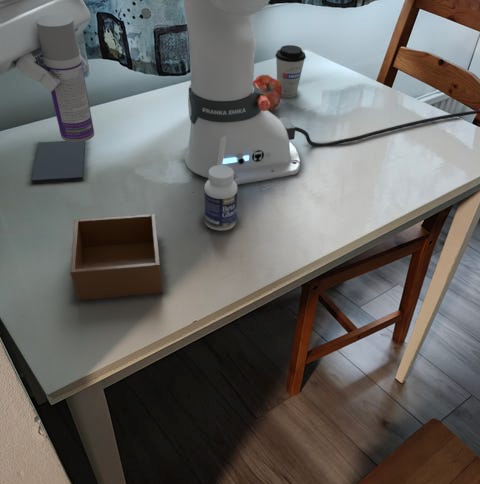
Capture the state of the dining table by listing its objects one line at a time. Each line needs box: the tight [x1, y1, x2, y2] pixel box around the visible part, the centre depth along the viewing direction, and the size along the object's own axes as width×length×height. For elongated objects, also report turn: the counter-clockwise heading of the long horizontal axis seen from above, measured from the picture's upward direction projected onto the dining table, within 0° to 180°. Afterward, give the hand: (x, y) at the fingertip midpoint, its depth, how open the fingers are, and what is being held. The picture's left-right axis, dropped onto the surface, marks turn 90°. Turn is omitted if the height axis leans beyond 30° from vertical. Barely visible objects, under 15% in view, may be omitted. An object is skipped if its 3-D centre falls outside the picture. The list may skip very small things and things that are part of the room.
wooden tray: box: [69, 213, 164, 301], centre depth 78 cm, size 12×12×5 cm
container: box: [36, 14, 95, 143], centre depth 70 cm, size 5×5×15 cm
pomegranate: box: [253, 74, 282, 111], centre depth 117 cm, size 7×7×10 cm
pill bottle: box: [203, 165, 238, 232], centre depth 86 cm, size 5×5×10 cm
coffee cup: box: [275, 44, 307, 98], centre depth 122 cm, size 7×7×10 cm
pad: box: [31, 140, 86, 184], centre depth 101 cm, size 9×14×1 cm, turn 10°
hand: (70, 79), depth 69 cm, fingers closed on container, 4 cm apart
